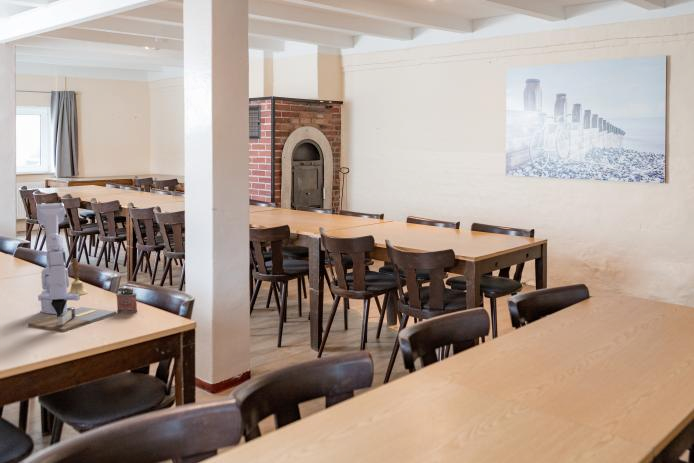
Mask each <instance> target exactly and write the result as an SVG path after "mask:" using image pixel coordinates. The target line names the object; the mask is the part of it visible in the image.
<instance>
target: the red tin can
mask: <svg viewBox="0 0 694 463" xmlns="http://www.w3.org/2000/svg"><path fill="white" fill-rule="evenodd" d="M118 292H119V293H118ZM115 296H116V303H117V304H116V305H117V310H116V313H117V312H118V313H117V314H136V313H138V308H137V307H138V306H137V293H136V292H134V288H132V287H128V286H126V287H118V288H117V293H116V294H115Z"/></svg>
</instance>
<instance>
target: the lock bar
mask: <svg viewBox="0 0 694 463" xmlns="http://www.w3.org/2000/svg"><path fill="white" fill-rule="evenodd" d="M75 309H76V308H75V307H73V306H71V307H67V310H66V311H65V312H63V313H62V314H61V315H60V316H58V325H63V324H65V323H66V322H67V321H68V320H70V319H71V318H73V317H75Z"/></svg>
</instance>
